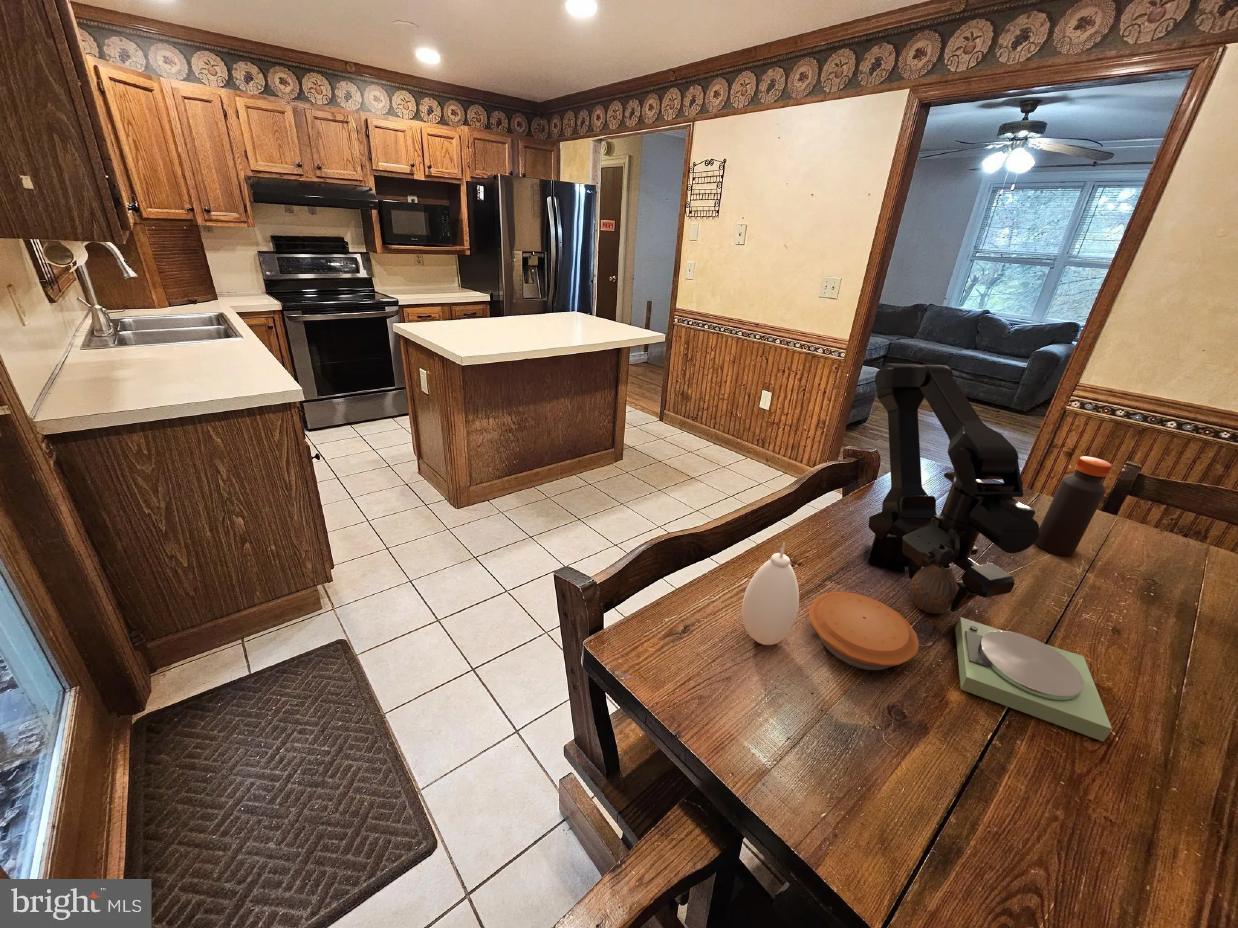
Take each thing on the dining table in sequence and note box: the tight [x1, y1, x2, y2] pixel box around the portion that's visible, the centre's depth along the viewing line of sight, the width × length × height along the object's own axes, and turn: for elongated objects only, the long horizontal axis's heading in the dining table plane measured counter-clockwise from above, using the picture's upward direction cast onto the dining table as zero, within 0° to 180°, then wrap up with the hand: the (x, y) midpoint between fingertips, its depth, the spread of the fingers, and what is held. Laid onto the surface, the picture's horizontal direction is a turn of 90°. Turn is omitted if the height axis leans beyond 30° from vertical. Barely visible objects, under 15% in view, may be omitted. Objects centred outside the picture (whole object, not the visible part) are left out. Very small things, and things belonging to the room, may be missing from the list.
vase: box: [909, 563, 959, 615], centre depth 87 cm, size 7×7×9 cm
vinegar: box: [1034, 456, 1113, 557], centre depth 104 cm, size 7×7×20 cm
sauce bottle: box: [741, 541, 800, 646], centre depth 76 cm, size 8×8×18 cm
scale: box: [954, 616, 1113, 742], centre depth 74 cm, size 16×14×3 cm
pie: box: [808, 591, 920, 671], centre depth 79 cm, size 15×16×5 cm
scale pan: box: [979, 630, 1083, 700], centre depth 74 cm, size 12×12×1 cm
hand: (931, 593), depth 88 cm, fingers open, 8 cm apart
